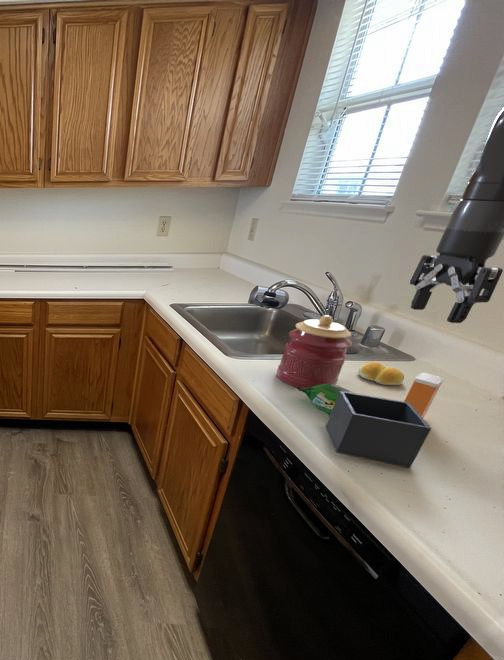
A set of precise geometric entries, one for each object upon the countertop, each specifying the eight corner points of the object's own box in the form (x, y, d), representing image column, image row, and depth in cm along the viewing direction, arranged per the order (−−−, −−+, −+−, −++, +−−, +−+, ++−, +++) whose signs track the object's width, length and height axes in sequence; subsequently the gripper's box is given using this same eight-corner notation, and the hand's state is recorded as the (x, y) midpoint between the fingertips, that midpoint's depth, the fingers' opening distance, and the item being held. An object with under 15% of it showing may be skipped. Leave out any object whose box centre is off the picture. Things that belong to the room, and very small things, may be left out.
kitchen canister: (298, 367, 116) (319, 305, 108) (347, 387, 105) (374, 320, 97) (264, 374, 112) (283, 310, 104) (311, 395, 101) (336, 326, 93)
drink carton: (423, 418, 92) (444, 378, 87) (416, 425, 89) (438, 384, 85) (402, 411, 94) (422, 372, 90) (395, 418, 92) (415, 377, 87)
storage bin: (391, 439, 84) (409, 402, 81) (410, 468, 76) (431, 428, 72) (325, 426, 89) (339, 390, 85) (336, 452, 80) (353, 414, 77)
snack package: (314, 394, 102) (321, 375, 99) (386, 427, 88) (396, 405, 86) (293, 399, 99) (300, 380, 97) (364, 434, 86) (374, 412, 84)
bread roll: (394, 389, 104) (401, 375, 102) (352, 376, 111) (358, 362, 109) (407, 381, 108) (414, 368, 106) (366, 369, 115) (372, 356, 113)
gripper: (542, 233, 67) (490, 328, 74) (462, 223, 80) (425, 305, 87) (491, 232, 68) (445, 326, 75) (420, 223, 80) (386, 304, 87)
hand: (434, 315), depth 81 cm, fingers open, 8 cm apart
